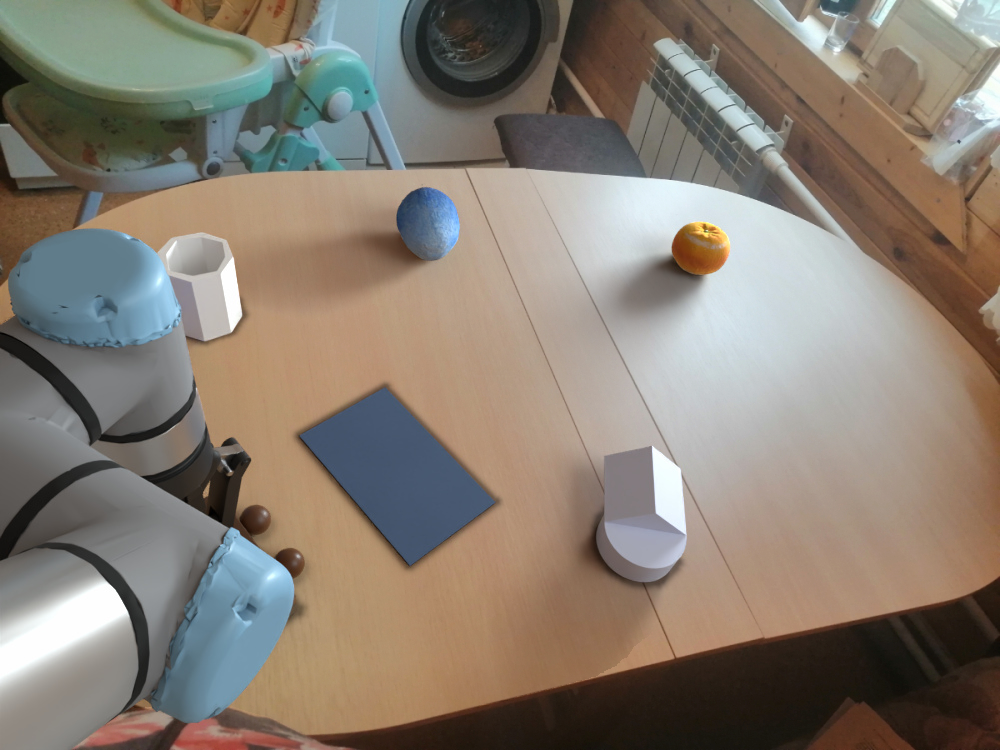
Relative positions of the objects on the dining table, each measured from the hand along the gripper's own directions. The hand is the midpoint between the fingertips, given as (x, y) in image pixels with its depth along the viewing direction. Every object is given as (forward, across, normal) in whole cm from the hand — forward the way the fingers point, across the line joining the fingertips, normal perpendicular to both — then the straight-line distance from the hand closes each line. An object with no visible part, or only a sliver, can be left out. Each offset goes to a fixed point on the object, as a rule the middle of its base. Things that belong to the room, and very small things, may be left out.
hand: (199, 580), depth 67 cm
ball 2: (+1, -7, +3) cm, 8 cm away
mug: (+3, -16, -33) cm, 37 cm away
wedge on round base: (+3, -39, +22) cm, 45 cm away
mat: (+2, -23, 0) cm, 23 cm away
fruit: (+3, -82, -2) cm, 82 cm away
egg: (+3, -50, -29) cm, 58 cm away
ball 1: (+1, -7, -3) cm, 8 cm away
